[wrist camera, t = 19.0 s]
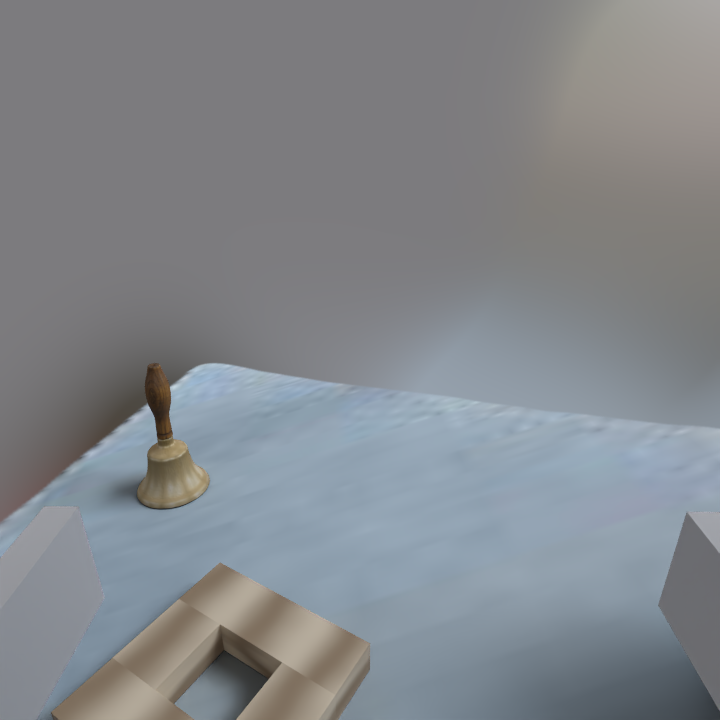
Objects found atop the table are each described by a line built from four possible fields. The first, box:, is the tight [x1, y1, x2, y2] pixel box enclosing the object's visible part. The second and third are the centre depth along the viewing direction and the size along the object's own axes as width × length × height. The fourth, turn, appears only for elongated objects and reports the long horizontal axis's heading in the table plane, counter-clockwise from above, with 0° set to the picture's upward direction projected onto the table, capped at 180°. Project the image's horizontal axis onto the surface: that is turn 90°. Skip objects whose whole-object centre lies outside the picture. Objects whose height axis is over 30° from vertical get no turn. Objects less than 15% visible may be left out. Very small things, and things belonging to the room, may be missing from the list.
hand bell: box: [137, 363, 210, 509], centre depth 61 cm, size 8×8×16 cm
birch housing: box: [51, 563, 370, 720], centre depth 40 cm, size 16×16×3 cm
